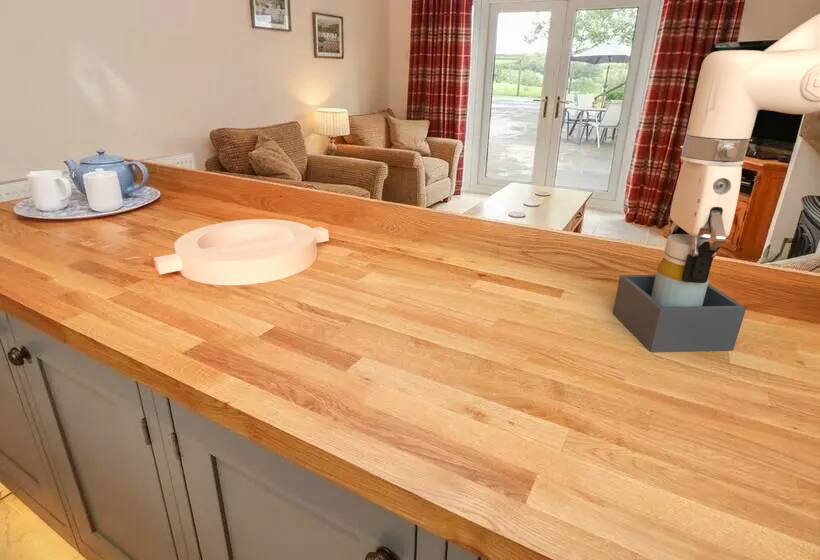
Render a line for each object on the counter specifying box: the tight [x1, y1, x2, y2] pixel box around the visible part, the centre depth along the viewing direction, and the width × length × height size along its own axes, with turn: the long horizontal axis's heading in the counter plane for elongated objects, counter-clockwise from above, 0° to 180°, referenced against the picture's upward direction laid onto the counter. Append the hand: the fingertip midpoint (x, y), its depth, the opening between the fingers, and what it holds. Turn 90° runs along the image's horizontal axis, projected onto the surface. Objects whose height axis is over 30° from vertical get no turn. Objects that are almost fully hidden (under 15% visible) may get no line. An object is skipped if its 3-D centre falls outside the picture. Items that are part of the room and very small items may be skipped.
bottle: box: [651, 234, 711, 307], centre depth 75 cm, size 7×7×15 cm
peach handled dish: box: [153, 218, 330, 286], centre depth 103 cm, size 28×28×5 cm
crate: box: [612, 274, 747, 353], centre depth 76 cm, size 13×13×7 cm
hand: (683, 270), depth 74 cm, fingers closed on bottle, 7 cm apart
